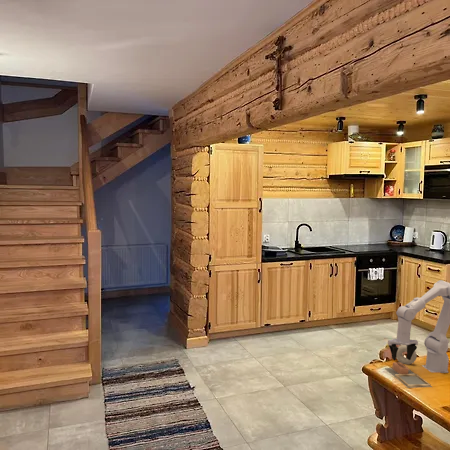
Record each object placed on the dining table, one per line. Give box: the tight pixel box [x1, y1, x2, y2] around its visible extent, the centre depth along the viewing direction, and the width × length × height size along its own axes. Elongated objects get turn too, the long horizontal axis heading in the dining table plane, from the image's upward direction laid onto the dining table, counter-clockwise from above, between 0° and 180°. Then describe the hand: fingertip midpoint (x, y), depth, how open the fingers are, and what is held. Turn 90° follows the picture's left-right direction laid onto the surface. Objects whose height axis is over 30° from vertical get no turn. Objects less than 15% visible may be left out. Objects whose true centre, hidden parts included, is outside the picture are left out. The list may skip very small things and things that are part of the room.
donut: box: [396, 345, 418, 366], centre depth 219 cm, size 10×4×10 cm, turn 66°
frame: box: [394, 373, 432, 388], centre depth 199 cm, size 11×11×1 cm
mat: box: [384, 367, 433, 389], centre depth 203 cm, size 12×20×1 cm, turn 9°
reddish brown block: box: [391, 361, 410, 374], centre depth 208 cm, size 7×4×3 cm, turn 9°
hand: (401, 359), depth 208 cm, fingers open, 7 cm apart
